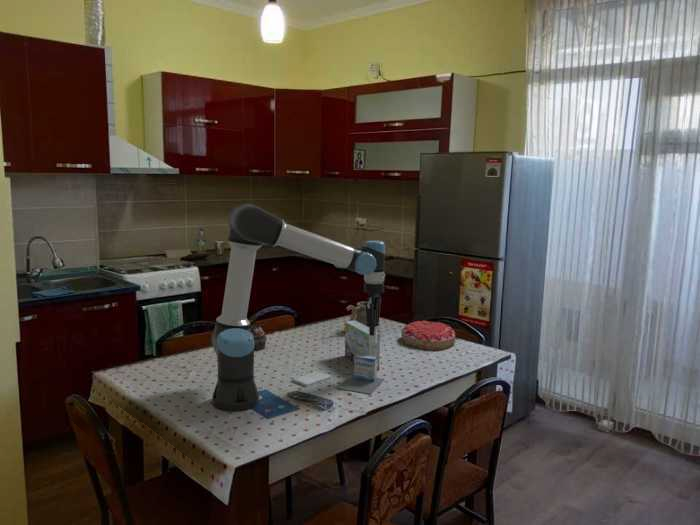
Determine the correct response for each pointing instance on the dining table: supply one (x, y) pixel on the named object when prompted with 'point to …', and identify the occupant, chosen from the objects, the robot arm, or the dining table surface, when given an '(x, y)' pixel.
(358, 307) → the tankard
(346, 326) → the snack box
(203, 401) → the dining table surface
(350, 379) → the rubber mat
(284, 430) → the dining table surface
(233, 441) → the dining table surface
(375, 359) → the medicine box
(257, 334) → the cupcake
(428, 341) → the cake
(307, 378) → the hard drive
